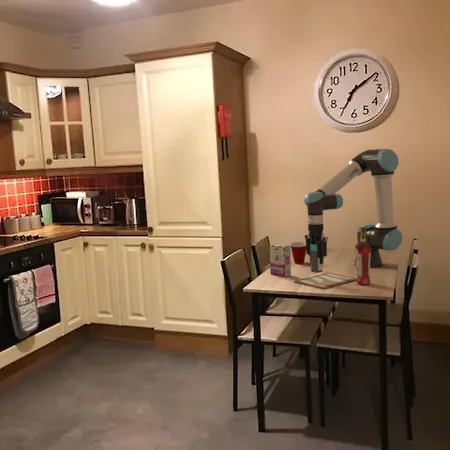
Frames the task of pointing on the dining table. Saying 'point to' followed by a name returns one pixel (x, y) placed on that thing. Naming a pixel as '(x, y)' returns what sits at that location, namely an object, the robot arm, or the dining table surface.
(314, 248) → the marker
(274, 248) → the candy bar box
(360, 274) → the liquor
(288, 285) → the dining table surface
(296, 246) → the plastic cup
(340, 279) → the striped kitchen towel
